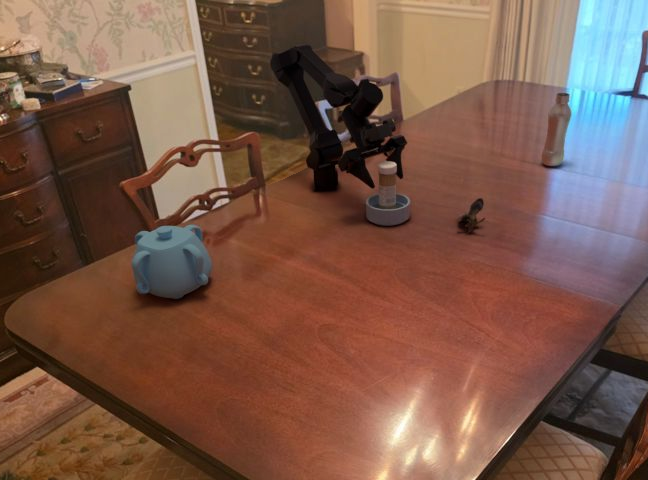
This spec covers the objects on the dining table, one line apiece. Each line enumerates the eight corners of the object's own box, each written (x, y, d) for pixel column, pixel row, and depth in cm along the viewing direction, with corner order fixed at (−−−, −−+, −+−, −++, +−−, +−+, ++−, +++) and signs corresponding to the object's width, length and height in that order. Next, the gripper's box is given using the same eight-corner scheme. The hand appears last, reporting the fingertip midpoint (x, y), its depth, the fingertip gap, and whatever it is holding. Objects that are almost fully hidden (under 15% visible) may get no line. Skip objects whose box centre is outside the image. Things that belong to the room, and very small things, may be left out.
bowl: (367, 228, 155) (367, 211, 152) (365, 209, 164) (364, 193, 161) (412, 226, 155) (412, 209, 152) (407, 207, 164) (407, 191, 161)
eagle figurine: (492, 229, 149) (490, 208, 155) (479, 208, 145) (476, 187, 151) (464, 243, 153) (462, 221, 159) (450, 223, 149) (449, 202, 155)
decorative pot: (211, 302, 129) (200, 243, 121) (133, 308, 128) (116, 249, 120) (216, 264, 142) (206, 209, 134) (145, 270, 141) (131, 214, 133)
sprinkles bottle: (395, 211, 161) (396, 160, 153) (396, 218, 157) (397, 166, 149) (378, 211, 161) (377, 160, 153) (378, 219, 157) (378, 167, 149)
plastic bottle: (538, 167, 184) (549, 96, 171) (542, 159, 188) (553, 90, 176) (560, 169, 182) (573, 98, 169) (563, 162, 186) (576, 92, 174)
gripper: (342, 117, 142) (373, 176, 142) (403, 101, 151) (432, 157, 151) (324, 142, 152) (353, 198, 152) (382, 126, 161) (409, 179, 161)
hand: (388, 183), depth 154 cm, fingers open, 9 cm apart
